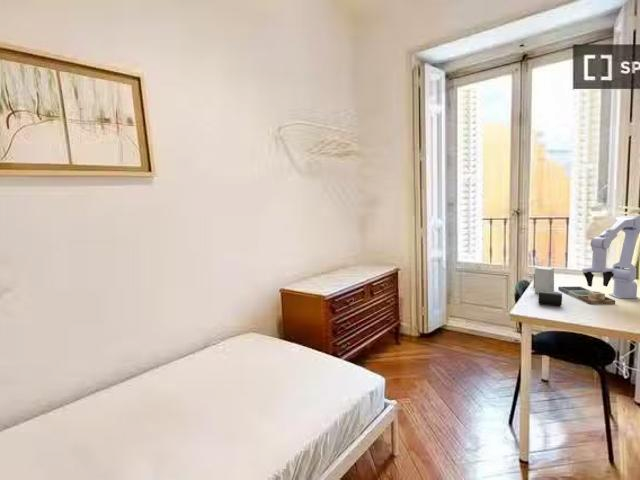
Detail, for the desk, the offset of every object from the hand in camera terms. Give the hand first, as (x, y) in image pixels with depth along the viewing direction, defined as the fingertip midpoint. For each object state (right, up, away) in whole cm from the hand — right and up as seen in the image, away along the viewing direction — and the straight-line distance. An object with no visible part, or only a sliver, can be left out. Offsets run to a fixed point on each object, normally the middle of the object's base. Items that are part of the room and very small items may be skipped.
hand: (597, 286), depth 191 cm
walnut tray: (0, -8, +1) cm, 8 cm away
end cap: (-26, -10, -2) cm, 28 cm away
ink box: (-10, -5, +30) cm, 32 cm away
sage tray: (+1, -7, +11) cm, 13 cm away
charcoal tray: (+2, -6, +20) cm, 21 cm away
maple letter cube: (0, -8, +1) cm, 9 cm away
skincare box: (-16, -7, +19) cm, 26 cm away
